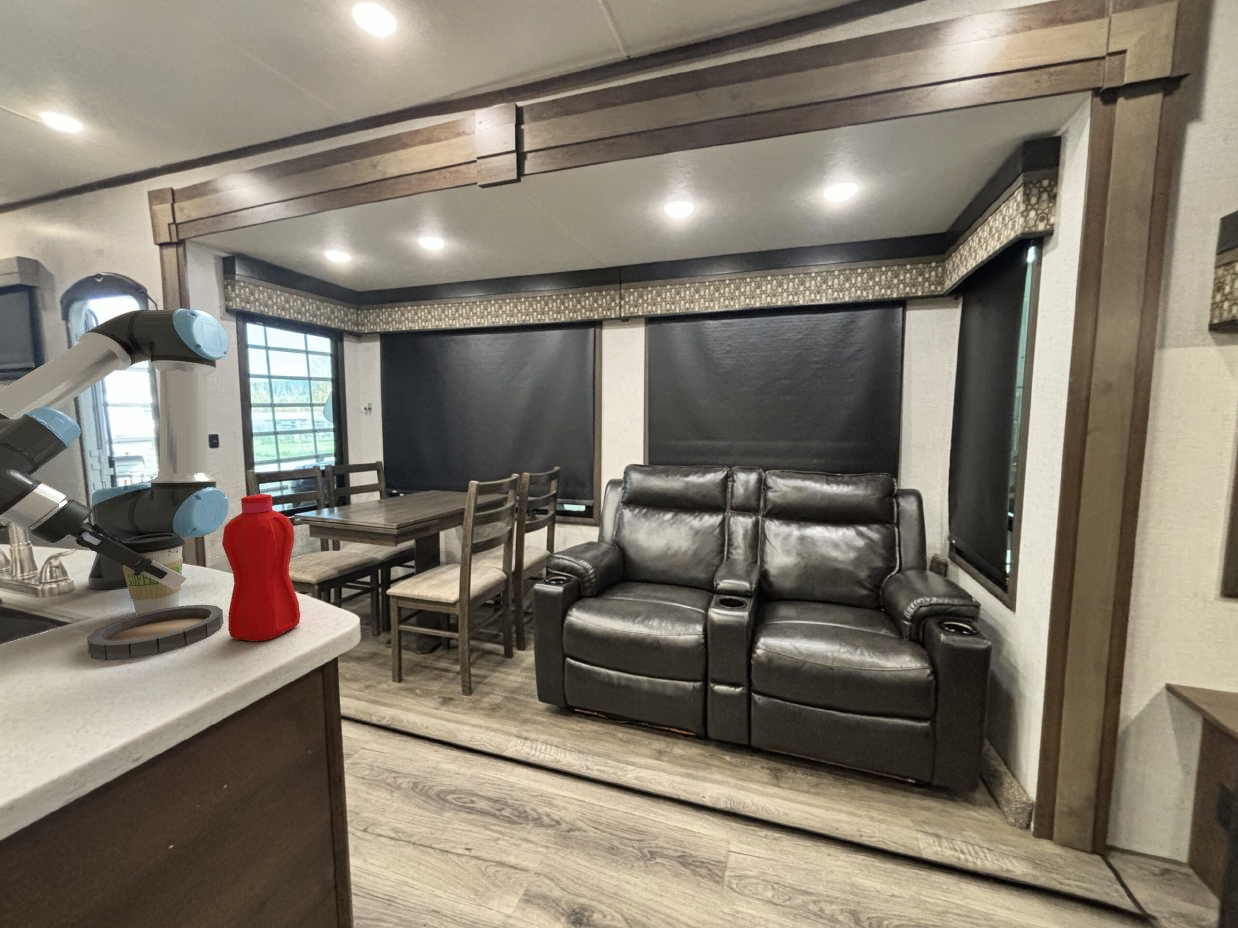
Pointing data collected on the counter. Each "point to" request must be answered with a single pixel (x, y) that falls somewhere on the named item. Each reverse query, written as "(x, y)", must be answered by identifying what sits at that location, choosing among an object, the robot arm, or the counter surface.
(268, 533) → the red curved bottle
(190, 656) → the counter surface
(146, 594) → the coffee cup
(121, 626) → the round tray
